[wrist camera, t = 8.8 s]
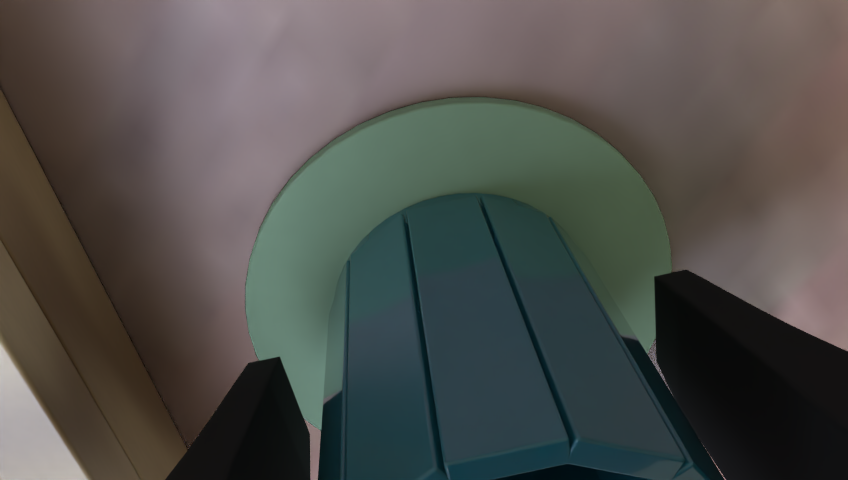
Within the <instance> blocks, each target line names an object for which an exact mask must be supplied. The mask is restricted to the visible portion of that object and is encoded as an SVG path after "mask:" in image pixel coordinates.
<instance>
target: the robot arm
mask: <svg viewBox="0 0 848 480" xmlns="http://www.w3.org/2000/svg"><path fill="white" fill-rule="evenodd" d="M654 290H655V324H656V358H657V363H658V365H659V367H660V369H661V371H662V374H663V376H664V378H665V380H666V382H667V384H668V386H669V388H670V390H671V392H672V394H673V396H674V398H675V400H676V402H677V404H678V405H679V407H680V408H681V410H682V412H683V413H684V415H685V417H686V418H687V420H688V421H689V423H690V425H691V426H692V428H693V430H694V431H695V433H696V434H697V436H698V438H699V439H700V441H701V442H702V444H703V445H704V447H705V448H706V450H707V451H708V453H709V454H710V456H711V457H712V459H713V460H714V462H715V463H716V465H717V466H718V468H719V469H720V471H721V473H722V474H723V476H724V477H725V479H726V480H848V351H845V350H843V349H841V348H839V347H836V346H834V345H832V344H830V343H828V342H825V341H823V340H821V339H819V338H817V337H814V336H812V335H810V334H808V333H806V332H804V331H802V330H800V329H798V328H796V327H793V326H791V325H789V324H787V323H785V322H783V321H781V320H779V319H777V318H776V317H774V316H772V315H770V314H768V313H766V312H764V311H762V310H760V309H758V308H756V307H755V306H753V305H751V304H749V303H747V302H745V301H743V300H742V299H740V298H738V297H736V296H734V295H733V294H731V293H729V292H727V291H725V290H723V289H722V288H720V287H718V286H716V285H714V284H713V283H711V282H709V281H707V280H705V279H703V278H702V277H700V276H698V275H696V274H694V273H692V272H690V271H688V270H682V271H677V272H673V273H668V274H663V275H659V276H654ZM165 480H310V434H309V431H308V429H307V426H306V423H305V421H304V418H303V416H302V413H301V410H300V408H299V405H298V403H297V400H296V397H295V395H294V392H293V390H292V387H291V384H290V382H289V379H288V377H287V374H286V371H285V369H284V366H283V364H282V361H281V358H280V356H279V357H275V358H270V359H265V360H260V361H256V362H251V363H248V365H247V366H246V367H245V369H244V370H243V372H242V373H241V374H240V376H239V377H238V379H237V380H236V382H235V383H234V385H233V386H232V388H231V389H230V391H229V392H228V394H227V395H226V397H225V398H224V399H223V401H222V402H221V404H220V405H219V407H218V408H217V410H216V411H215V413H214V414H213V416H212V417H211V419H210V420H209V421H208V423H207V424H206V426H205V427H204V428H203V430H202V431H201V433H200V434H199V436H198V437H197V438H196V440H195V441H194V443H193V444H192V445H191V447H190V448H189V449H188V451H187V452H186V453H185V454H184V456H183V457H182V458H181V460H180V461H179V462H178V463H177V465H176V466H175V467H174V469H173V470H172V471H171V473H170V474H169V475H168V476H167V478H166V479H165Z"/></svg>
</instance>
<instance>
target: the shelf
mask: <svg viewBox="0 0 848 480" xmlns="http://www.w3.org/2000/svg"><path fill="white" fill-rule="evenodd" d="M187 451H188V450H187V448H186V446H185V444H184V442H183V440H182V438H181V436H180V434H179V433H178V431H177V429H176V427H175V425H174V423H173V421H172V419H171V417H170V415H169V413H168V411H167V409H166V407H165V405H164V404H163V402H162V400H161V398H160V396H159V394H158V392H157V390H156V388H155V386H154V384H153V382H152V380H151V378H150V376H149V375H148V373H147V371H146V369H145V367H144V365H143V363H142V361H141V359H140V357H139V355H138V353H137V351H136V349H135V348H134V346H133V344H132V342H131V340H130V338H129V336H128V334H127V332H126V330H125V328H124V326H123V324H122V322H121V320H120V319H119V317H118V315H117V313H116V311H115V309H114V307H113V305H112V303H111V301H110V299H109V297H108V295H107V293H106V292H105V290H104V288H103V286H102V284H101V282H100V280H99V278H98V276H97V274H96V272H95V270H94V268H93V266H92V264H91V263H90V261H89V259H88V257H87V255H86V253H85V251H84V249H83V247H82V245H81V243H80V241H79V239H78V237H77V236H76V234H75V232H74V230H73V228H72V226H71V224H70V222H69V220H68V218H67V216H66V214H65V212H64V210H63V208H62V207H61V205H60V203H59V201H58V199H57V197H56V195H55V193H54V191H53V189H52V187H51V185H50V183H49V181H48V179H47V178H46V176H45V174H44V172H43V170H42V168H41V166H40V164H39V162H38V160H37V158H36V156H35V154H34V152H33V151H32V149H31V147H30V145H29V143H28V141H27V139H26V137H25V135H24V133H23V131H22V129H21V127H20V125H19V123H18V122H17V120H16V118H15V116H14V114H13V112H12V110H11V108H10V106H9V104H8V102H7V100H6V98H5V96H4V95H3V93H2V91H1V89H0V480H165V479H166V478H167V476H168V475H169V474H170V473H171V471H172V470H173V469H174V467H175V466H176V465H177V463H178V462H179V461H180V460H181V458H182V457H183V456H184V454H185V453H186V452H187Z"/></svg>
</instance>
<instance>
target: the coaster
mask: <svg viewBox="0 0 848 480" xmlns="http://www.w3.org/2000/svg"><path fill="white" fill-rule="evenodd" d="M457 193H483V194H494V195H499V196H504V197H508V198H512V199H515V200H518V201H521V202H524V203H526V204H529V205H531V206H533V207H534V208H536V209H538V210H540V211H542V212H544V213H545V214H546V215H548V216H549V217H552V218H553V219H554V220H555V221H556V222H557V223H558V224H559V225H560V226H561V227H562V228H563V229H564V230H565V231H566V232H567V233H568V234H569V236H570V237H571V238H572V240H573V241H574V242H575V244H576V245H577V246H578V248H579V249H580V250H581V251H582V252H583V253H584V254H585V255H586V257H587V258H588V259H589V261H590V262H591V264H592V265H593V267H594V269H595V270H596V272H597V274H598V275H599V277H600V278H601V280H602V282H603V283H604V285H605V287H606V288H607V290H608V291H609V293H610V295H611V296H612V298H613V300H614V301H615V303H616V304H617V306H618V308H619V309H620V311H621V313H622V314H623V316H624V317H625V319H626V321H627V322H628V324H629V326H630V327H631V329H632V330H633V332H634V334H635V335H636V337H637V339H638V340H639V342H640V343H641V345H642V347H643V348H644V350H645V352H646V353H648V351H649V349H650V348H651V346H652V344H653V342H654V340H655V338H656V324H655V290H654V276H659V275H663V274H668V273H671V271H672V262H671V251H670V241H669V237H668V233H667V230H666V226H665V222H664V218H663V216H662V214H661V211H660V209H659V207H658V205H657V202H656V200H655V198H654V196H653V194H652V193H651V191H650V189H649V188H648V186H647V185H646V183H645V182H644V180H643V179H642V177H641V176H640V174H639V173H638V172H637V171H636V170H635V169H634V168H633V167H632V166H631V164H630V163H629V162H628V161H627V160H626V159H625V158H624V157H623V156H622V155H621V154H620V152H619V151H618V150H617V149H615V148H614V147H613V146H612V145H610V144H609V143H608V142H607V141H605V140H604V139H603V138H602V137H600V136H599V135H598V134H597V133H595V132H594V131H592V130H590V129H588V128H587V127H585V126H583V125H581V124H580V123H578V122H576V121H575V120H573V119H571V118H569V117H566V116H564V115H561V114H559V113H556V112H554V111H551V110H549V109H546V108H543V107H539V106H535V105H531V104H527V103H523V102H519V101H515V100H506V99H497V98H488V97H465V98H447V99H441V100H434V101H428V102H421V103H417V104H414V105H410V106H407V107H403V108H400V109H396V110H393V111H389V112H387V113H385V114H382V115H380V116H378V117H375V118H373V119H371V120H368V121H366V122H364V123H362V124H359V125H358V126H356V127H354V128H353V129H351V130H349V131H348V132H346V133H344V134H343V135H341V136H339V137H338V138H336V139H334V140H333V141H331V142H330V143H329V144H328V145H326V146H325V147H324V148H323V149H321V150H320V151H319V152H318V153H316V154H315V155H314V156H312V157H311V158H310V159H309V160H308V161H307V162H306V163H305V164H304V165H303V166H302V167H301V168H300V169H299V170H298V171H297V172H296V173H295V174H294V175H293V177H292V178H291V179H290V180H289V181H288V182H287V184H286V185H285V186H284V188H283V189H282V191H281V192H280V193H279V195H278V196H277V198H276V199H275V200H274V202H273V203H272V205H271V207H270V209H269V211H268V213H267V215H266V217H265V219H264V221H263V222H262V224H261V226H260V229H259V232H258V235H257V238H256V241H255V244H254V247H253V250H252V253H251V256H250V260H249V266H248V272H247V278H246V284H245V310H246V317H247V324H248V330H249V334H250V337H251V341H252V344H253V347H254V350H255V353H256V355H257V357H258V359H259V361H260V360H265V359H270V358H275V357H279V356H280V358H281V361H282V364H283V366H284V369H285V371H286V374H287V377H288V379H289V382H290V384H291V387H292V390H293V392H294V395H295V397H296V400H297V403H298V405H299V408H300V410H301V413H302V416H303V418H304V419H306V420H307V421H308V422H309V423H311V424H312V425H313V426H315V427H316V428H318V429H319V430H321V427H322V411H323V396H324V381H325V366H326V351H327V335H328V320H329V312H330V309H331V306H332V303H333V300H334V294H335V290H336V286H337V281H338V279H339V276H340V274H341V271H342V269H343V267H344V265H345V263H346V261H347V260H348V258H349V256H350V255H351V253H352V252H353V250H354V249H355V248H356V247H357V245H358V244H359V243H360V242H361V240H362V239H363V238H364V237H365V236H366V235H368V234H369V233H370V232H371V231H372V230H373V229H374V228H375V227H376V226H378V225H379V224H380V223H382V222H383V221H384V220H386V219H387V218H389V217H390V216H392V215H394V214H395V213H397V212H399V211H401V210H403V209H404V208H407V207H409V206H411V205H414V204H416V203H419V202H421V201H424V200H428V199H432V198H435V197H439V196H444V195H451V194H457Z"/></svg>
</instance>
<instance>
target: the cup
mask: <svg viewBox="0 0 848 480" xmlns="http://www.w3.org/2000/svg"><path fill="white" fill-rule="evenodd" d="M318 480H724V478H723V477H722V475H721V473H720V472H719V470H718V469H717V467H716V465H715V464H714V462H713V460H712V459H711V457H710V456H709V454H708V452H707V451H706V449H705V447H704V446H703V444H702V443H701V441H700V439H699V438H698V436H697V434H696V433H695V431H694V430H693V428H692V426H691V425H690V423H689V421H688V420H687V418H686V417H685V415H684V413H683V412H682V410H681V408H680V407H679V405H678V404H677V402H676V400H675V399H674V397H673V395H672V394H671V392H670V391H669V389H668V387H667V386H666V384H665V382H664V381H663V379H662V378H661V376H660V374H659V373H658V371H657V369H656V368H655V366H654V365H653V363H652V361H651V360H650V358H649V356H648V355H647V353H646V352H645V350H644V348H643V347H642V345H641V343H640V342H639V340H638V339H637V337H636V335H635V334H634V332H633V330H632V329H631V327H630V326H629V324H628V322H627V321H626V319H625V317H624V316H623V314H622V313H621V311H620V309H619V308H618V306H617V304H616V303H615V301H614V300H613V298H612V296H611V295H610V293H609V291H608V290H607V288H606V287H605V285H604V283H603V282H602V280H601V278H600V277H599V275H598V274H597V272H596V270H595V269H594V267H593V265H592V264H591V262H590V261H589V259H588V258H587V257H586V255H585V254H584V253H583V252H582V251H581V250H580V249H579V248H578V246H577V245H576V244H575V242H574V241H573V240H572V238H571V237H570V236H569V234H568V233H567V232H566V231H565V230H564V229H563V228H562V227H561V226H560V225H559V224H558V223H557V222H556V221H555V220H554V219H553V218H552V217H549V216H548V215H546V214H545V213H544V212H542V211H540V210H538V209H536V208H534V207H533V206H531V205H529V204H526V203H524V202H521V201H518V200H515V199H512V198H508V197H504V196H499V195H494V194H483V193H457V194H451V195H444V196H439V197H435V198H432V199H428V200H424V201H421V202H419V203H416V204H414V205H411V206H409V207H407V208H404V209H403V210H401V211H399V212H397V213H395V214H394V215H392V216H390V217H389V218H387V219H386V220H384V221H383V222H382V223H380V224H379V225H378V226H376V227H375V228H374V229H373V230H372V231H371V232H370V233H369V234H368V235H366V236H365V237H364V238H363V239H362V240H361V242H360V243H359V244H358V245H357V247H356V248H355V249H354V250H353V252H352V253H351V255H350V256H349V258H348V260H347V261H346V263H345V265H344V267H343V269H342V271H341V274H340V276H339V279H338V281H337V286H336V290H335V294H334V300H333V303H332V306H331V309H330V312H329V320H328V335H327V351H326V366H325V381H324V396H323V411H322V427H321V442H320V457H319V472H318Z"/></svg>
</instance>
